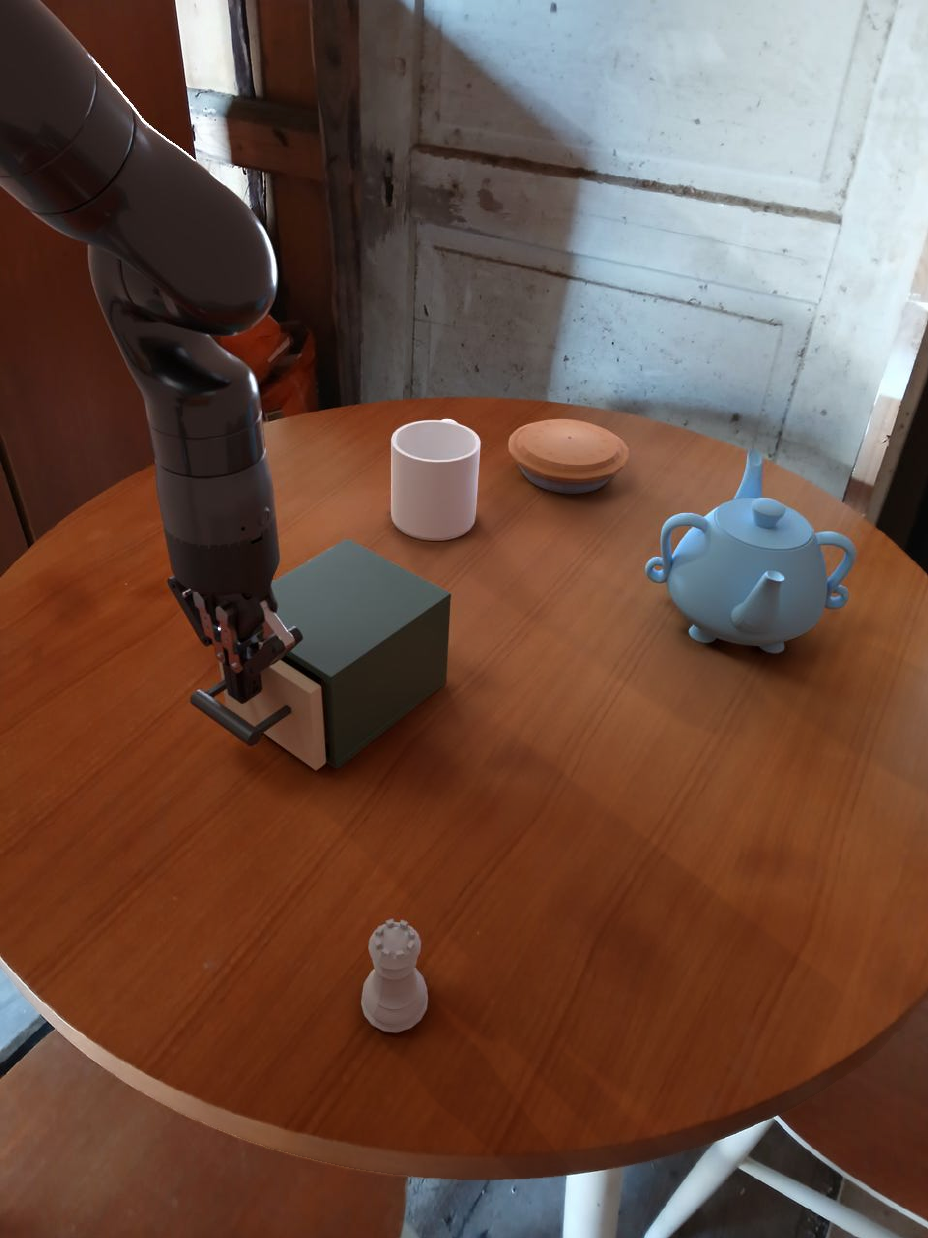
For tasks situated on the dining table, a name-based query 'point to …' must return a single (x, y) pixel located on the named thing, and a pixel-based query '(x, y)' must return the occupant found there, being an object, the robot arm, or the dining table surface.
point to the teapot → (751, 569)
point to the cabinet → (365, 640)
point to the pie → (567, 455)
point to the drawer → (276, 711)
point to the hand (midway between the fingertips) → (245, 694)
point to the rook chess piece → (394, 979)
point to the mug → (434, 479)
